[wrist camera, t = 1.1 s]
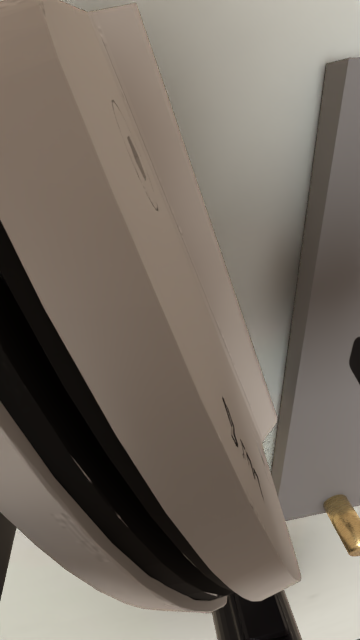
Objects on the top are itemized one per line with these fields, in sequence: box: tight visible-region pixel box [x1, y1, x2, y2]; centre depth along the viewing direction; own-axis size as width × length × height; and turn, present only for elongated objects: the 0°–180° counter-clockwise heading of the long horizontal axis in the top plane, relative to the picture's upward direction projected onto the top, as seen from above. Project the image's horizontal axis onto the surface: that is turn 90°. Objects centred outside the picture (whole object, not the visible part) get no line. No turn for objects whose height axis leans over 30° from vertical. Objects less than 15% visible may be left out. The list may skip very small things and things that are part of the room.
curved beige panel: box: [0, 0, 301, 613], centre depth 10 cm, size 17×5×10 cm, turn 21°
